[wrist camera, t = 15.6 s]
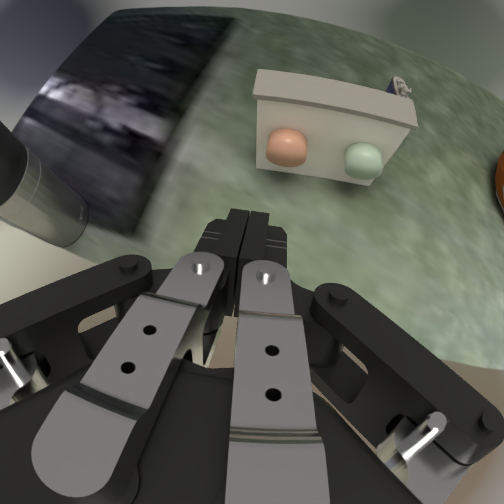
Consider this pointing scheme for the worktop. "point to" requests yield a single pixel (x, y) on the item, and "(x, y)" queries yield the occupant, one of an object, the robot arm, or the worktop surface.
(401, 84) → the flask
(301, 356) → the robot arm
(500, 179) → the alarm clock
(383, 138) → the panel
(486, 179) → the worktop surface
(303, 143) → the terracotta button
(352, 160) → the sage button
